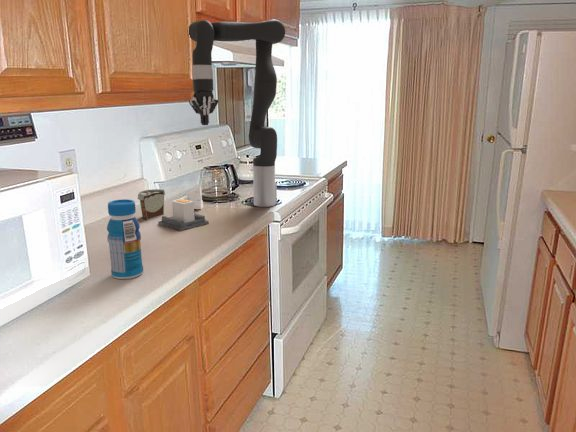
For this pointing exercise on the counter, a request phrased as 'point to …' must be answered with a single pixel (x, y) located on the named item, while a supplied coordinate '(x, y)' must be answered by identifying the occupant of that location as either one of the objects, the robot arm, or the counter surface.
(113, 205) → the beverage bottle
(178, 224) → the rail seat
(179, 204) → the block
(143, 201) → the food container
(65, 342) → the counter surface
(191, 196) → the white wedge bracket
